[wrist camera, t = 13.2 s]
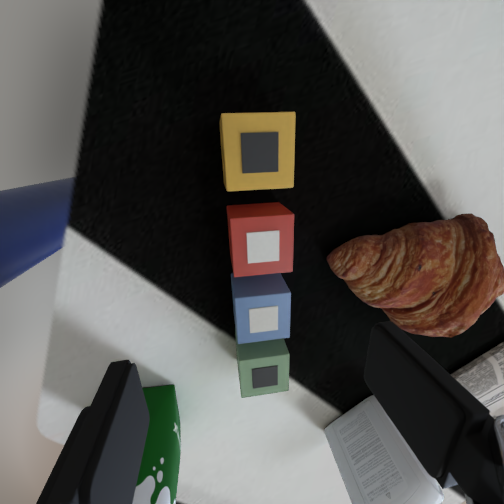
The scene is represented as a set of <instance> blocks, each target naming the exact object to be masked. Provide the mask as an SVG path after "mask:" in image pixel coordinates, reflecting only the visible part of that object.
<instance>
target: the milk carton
mask: <svg viewBox="0 0 504 504" xmlns="http://www.w3.org/2000/svg"><path fill="white" fill-rule="evenodd" d="M142 389H143V393H144V396H145V400H146V403H147V407H148V411H149V416H150V420H149V427H148V432H147V437H146V441H145V446H144V451H143V456H142V460H141V465H140V470H139V474H138V479H137V484H136V489H135V493H134V498H133V503H132V504H175V502H176V493H177V483H178V474H179V464H180V452H181V441H180V419H179V412H178V406H177V399H176V393H175V386H174V385H166V386H157V387H149V388H142Z"/></svg>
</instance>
